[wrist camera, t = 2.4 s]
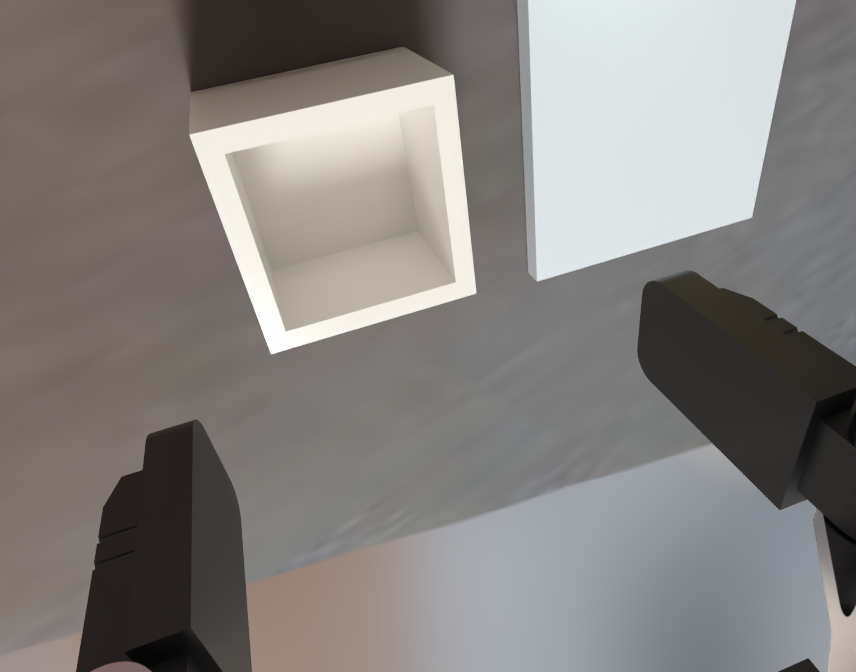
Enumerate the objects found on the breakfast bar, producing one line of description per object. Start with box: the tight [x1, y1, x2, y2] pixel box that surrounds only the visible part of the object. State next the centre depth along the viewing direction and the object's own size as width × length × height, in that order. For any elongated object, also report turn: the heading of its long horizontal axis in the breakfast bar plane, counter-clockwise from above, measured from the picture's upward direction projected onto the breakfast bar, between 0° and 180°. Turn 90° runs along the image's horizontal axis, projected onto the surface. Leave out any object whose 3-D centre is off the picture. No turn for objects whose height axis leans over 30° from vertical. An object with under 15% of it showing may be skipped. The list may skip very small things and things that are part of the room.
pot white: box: [189, 47, 476, 354], centre depth 18 cm, size 6×6×4 cm
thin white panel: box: [517, 0, 796, 281], centre depth 22 cm, size 10×10×1 cm
